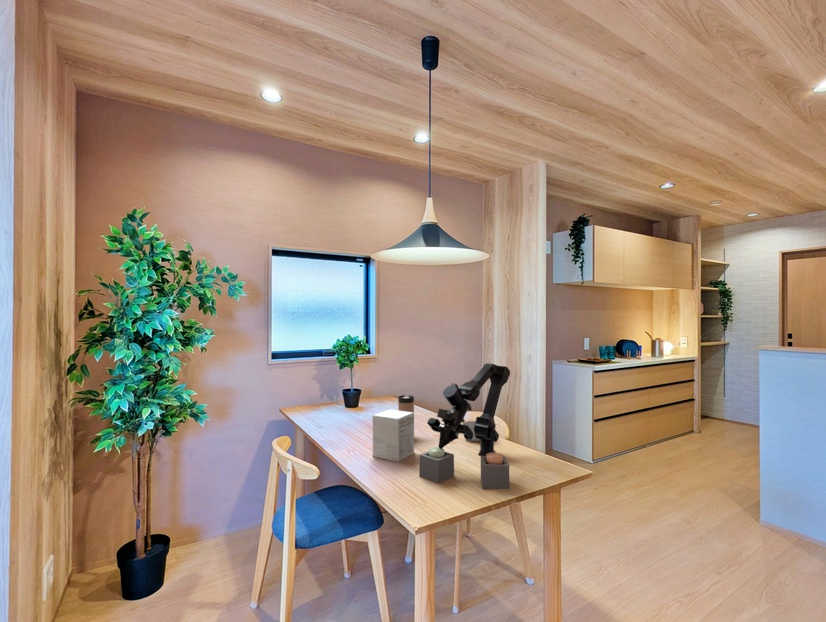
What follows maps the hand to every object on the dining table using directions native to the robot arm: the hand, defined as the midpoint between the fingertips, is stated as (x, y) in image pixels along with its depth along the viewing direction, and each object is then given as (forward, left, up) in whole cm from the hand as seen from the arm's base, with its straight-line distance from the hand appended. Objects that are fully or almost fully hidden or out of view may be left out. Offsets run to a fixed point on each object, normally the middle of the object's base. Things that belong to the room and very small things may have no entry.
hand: (439, 447), depth 151 cm
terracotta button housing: (+3, +20, -10) cm, 23 cm away
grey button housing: (+2, -1, -10) cm, 10 cm away
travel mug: (-40, -26, -10) cm, 49 cm away
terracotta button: (+3, +20, -3) cm, 21 cm away
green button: (+2, -1, -3) cm, 4 cm away
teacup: (-48, +6, -10) cm, 50 cm away
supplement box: (-16, -24, -10) cm, 31 cm away
